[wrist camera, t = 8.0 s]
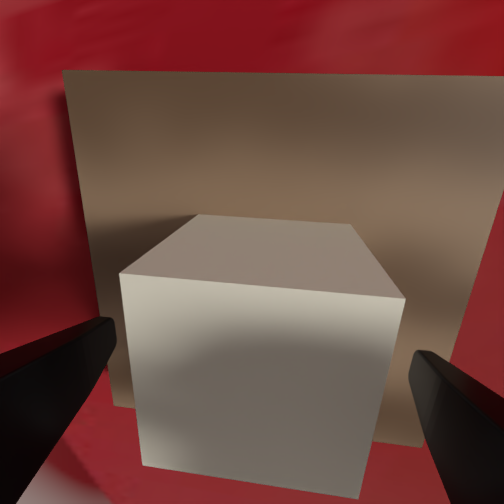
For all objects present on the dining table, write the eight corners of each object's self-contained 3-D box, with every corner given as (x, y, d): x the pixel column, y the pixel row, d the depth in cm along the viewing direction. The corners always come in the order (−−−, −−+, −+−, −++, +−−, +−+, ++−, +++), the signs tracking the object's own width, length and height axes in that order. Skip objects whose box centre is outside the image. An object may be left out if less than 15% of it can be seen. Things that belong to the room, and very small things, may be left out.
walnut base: (401, 399, 18) (421, 447, 15) (140, 367, 19) (114, 405, 16) (482, 92, 12) (539, 76, 9) (108, 85, 14) (61, 70, 11)
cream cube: (330, 353, 14) (358, 499, 8) (201, 338, 14) (142, 465, 9) (350, 224, 12) (405, 299, 6) (198, 214, 12) (118, 273, 7)
